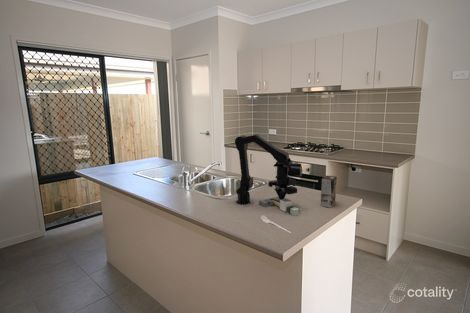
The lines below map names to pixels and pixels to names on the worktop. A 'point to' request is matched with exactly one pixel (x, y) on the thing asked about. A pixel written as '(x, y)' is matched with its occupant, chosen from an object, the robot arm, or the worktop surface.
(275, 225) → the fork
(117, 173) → the worktop surface
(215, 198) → the worktop surface
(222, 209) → the worktop surface
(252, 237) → the worktop surface
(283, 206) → the grey block
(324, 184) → the coffee box
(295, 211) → the cord rig
